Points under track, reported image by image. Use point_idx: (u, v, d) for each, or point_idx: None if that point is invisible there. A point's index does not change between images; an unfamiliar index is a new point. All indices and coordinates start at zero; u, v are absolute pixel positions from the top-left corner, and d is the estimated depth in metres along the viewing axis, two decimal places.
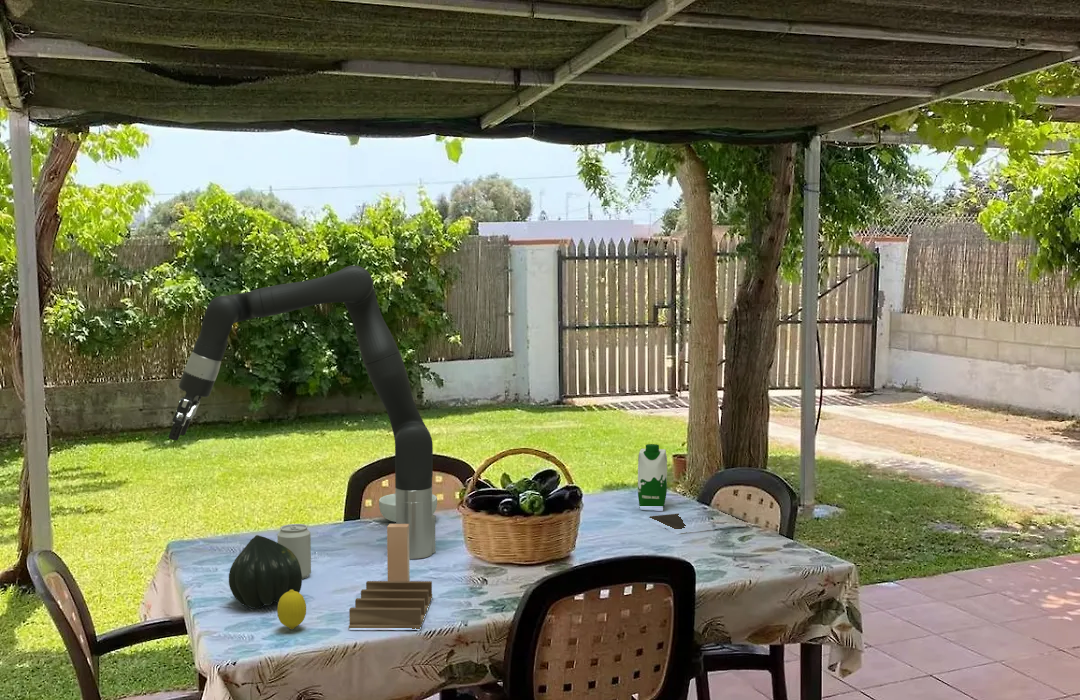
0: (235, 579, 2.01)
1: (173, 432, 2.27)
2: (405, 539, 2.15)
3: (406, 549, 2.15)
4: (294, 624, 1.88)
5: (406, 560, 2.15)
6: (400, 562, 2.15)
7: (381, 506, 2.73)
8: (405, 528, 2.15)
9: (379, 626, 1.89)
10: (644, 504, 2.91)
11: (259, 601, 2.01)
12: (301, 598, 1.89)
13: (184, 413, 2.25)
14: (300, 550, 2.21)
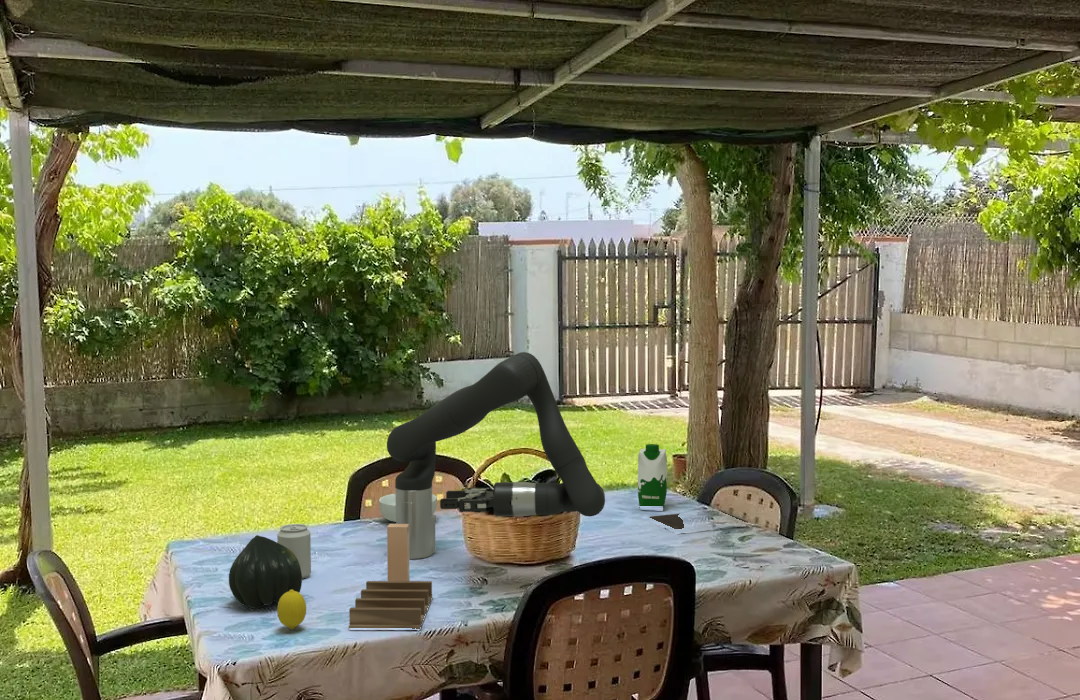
0: (235, 579, 2.01)
1: None
2: (405, 539, 2.15)
3: (406, 549, 2.15)
4: (294, 624, 1.88)
5: (406, 560, 2.15)
6: (400, 562, 2.15)
7: (381, 506, 2.73)
8: (405, 528, 2.15)
9: (379, 626, 1.89)
10: (644, 504, 2.91)
11: (259, 601, 2.01)
12: (301, 598, 1.89)
13: None
14: (300, 550, 2.21)
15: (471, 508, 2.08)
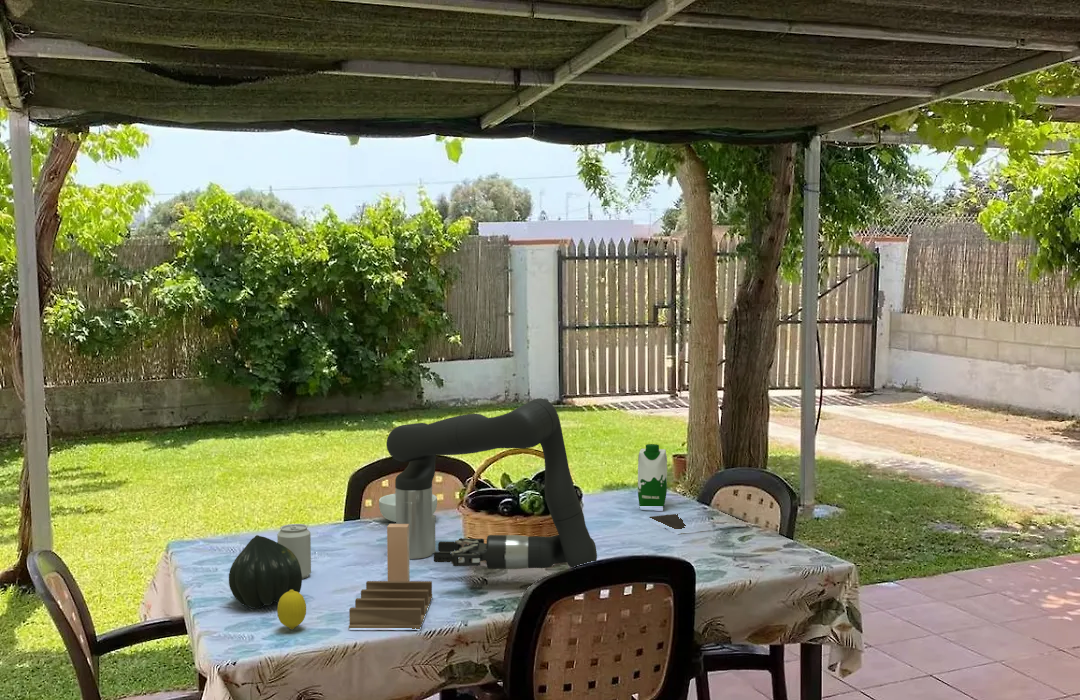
0: (235, 579, 2.01)
1: None
2: (405, 539, 2.15)
3: (406, 549, 2.15)
4: (294, 624, 1.88)
5: (406, 560, 2.15)
6: (400, 562, 2.15)
7: (381, 506, 2.73)
8: (405, 528, 2.15)
9: (379, 626, 1.89)
10: (644, 504, 2.91)
11: (259, 601, 2.01)
12: (301, 598, 1.89)
13: None
14: (300, 550, 2.21)
15: (465, 563, 2.10)
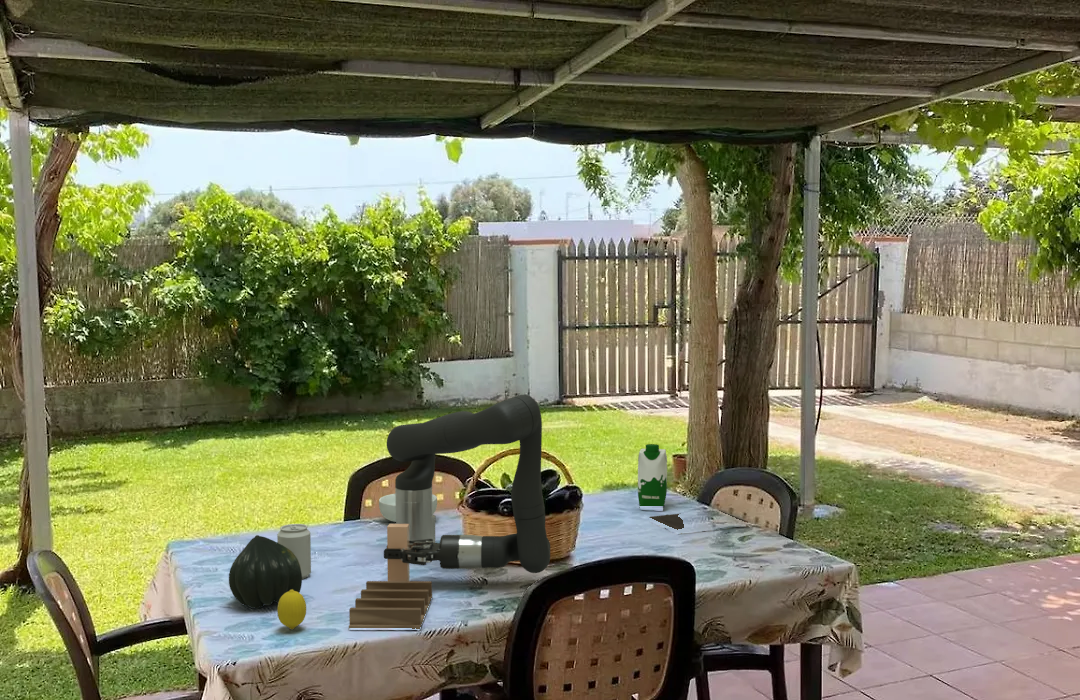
0: (235, 579, 2.01)
1: None
2: (405, 539, 2.15)
3: None
4: (294, 624, 1.88)
5: None
6: (400, 562, 2.15)
7: (381, 506, 2.73)
8: (405, 528, 2.15)
9: (379, 626, 1.89)
10: (644, 504, 2.91)
11: (259, 601, 2.01)
12: (301, 598, 1.89)
13: None
14: (300, 550, 2.21)
15: (411, 560, 2.11)
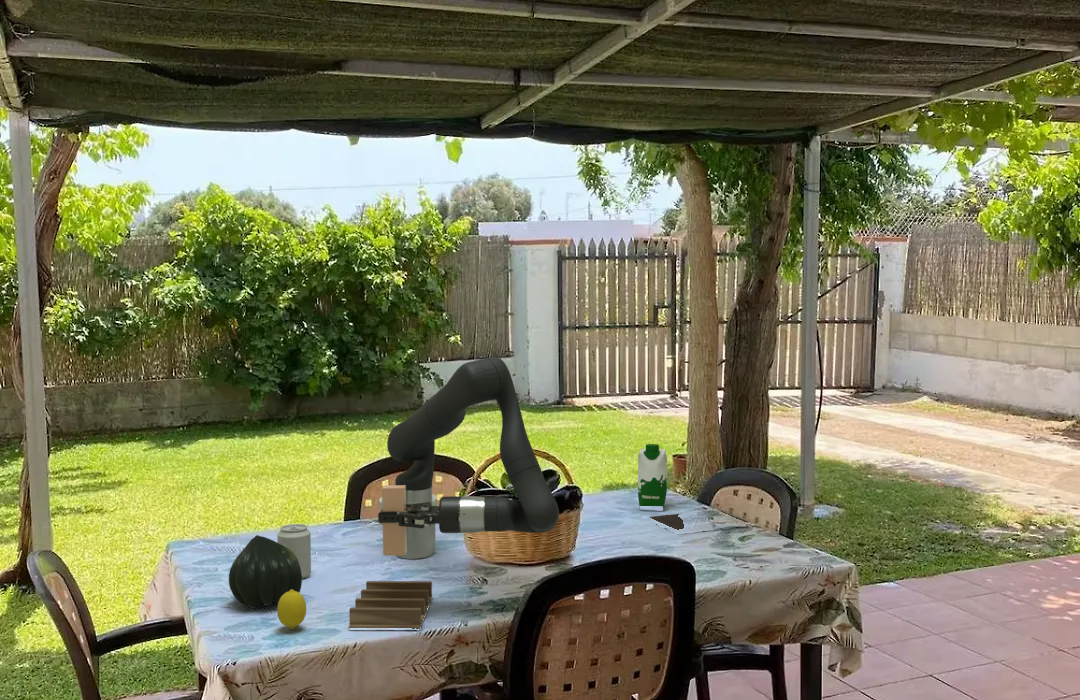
0: (235, 579, 2.01)
1: None
2: (401, 501, 1.98)
3: None
4: (294, 624, 1.88)
5: None
6: (396, 526, 1.99)
7: (381, 506, 2.73)
8: (401, 489, 1.98)
9: (379, 626, 1.89)
10: (644, 504, 2.91)
11: (259, 601, 2.01)
12: (301, 598, 1.89)
13: None
14: (300, 550, 2.21)
15: (408, 523, 1.95)
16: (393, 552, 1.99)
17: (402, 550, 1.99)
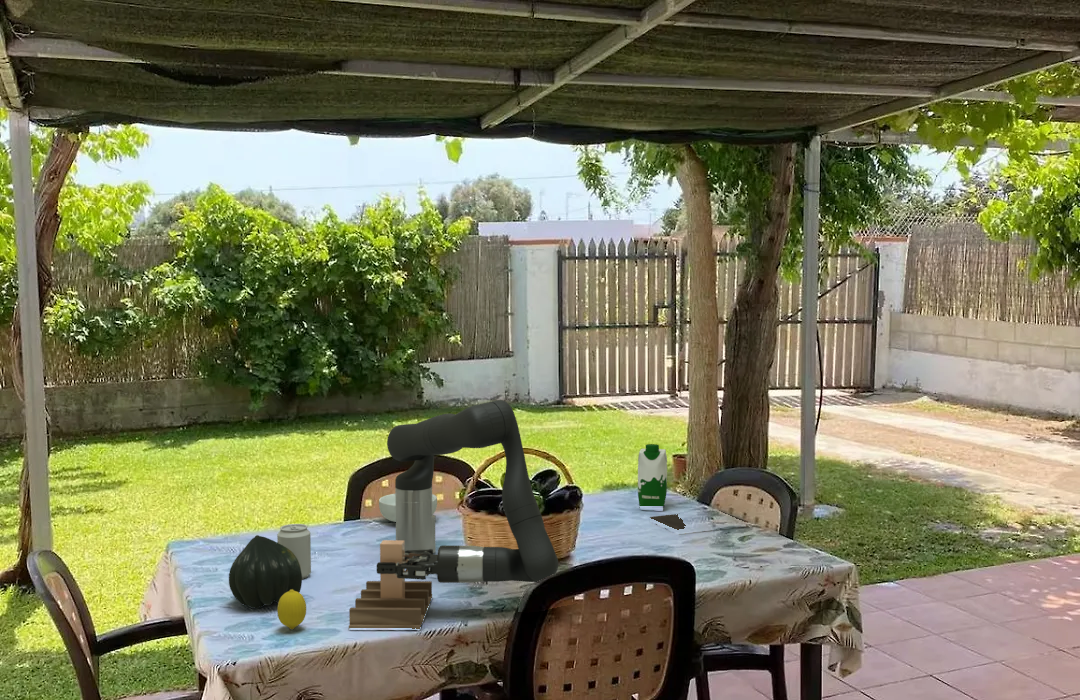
0: (235, 579, 2.01)
1: None
2: (399, 558, 1.97)
3: None
4: (294, 624, 1.88)
5: (401, 580, 1.97)
6: (394, 582, 1.97)
7: (381, 506, 2.73)
8: (400, 545, 1.97)
9: (379, 626, 1.89)
10: (644, 504, 2.91)
11: (259, 601, 2.01)
12: (301, 598, 1.89)
13: None
14: (300, 550, 2.21)
15: (408, 575, 1.92)
16: None
17: None
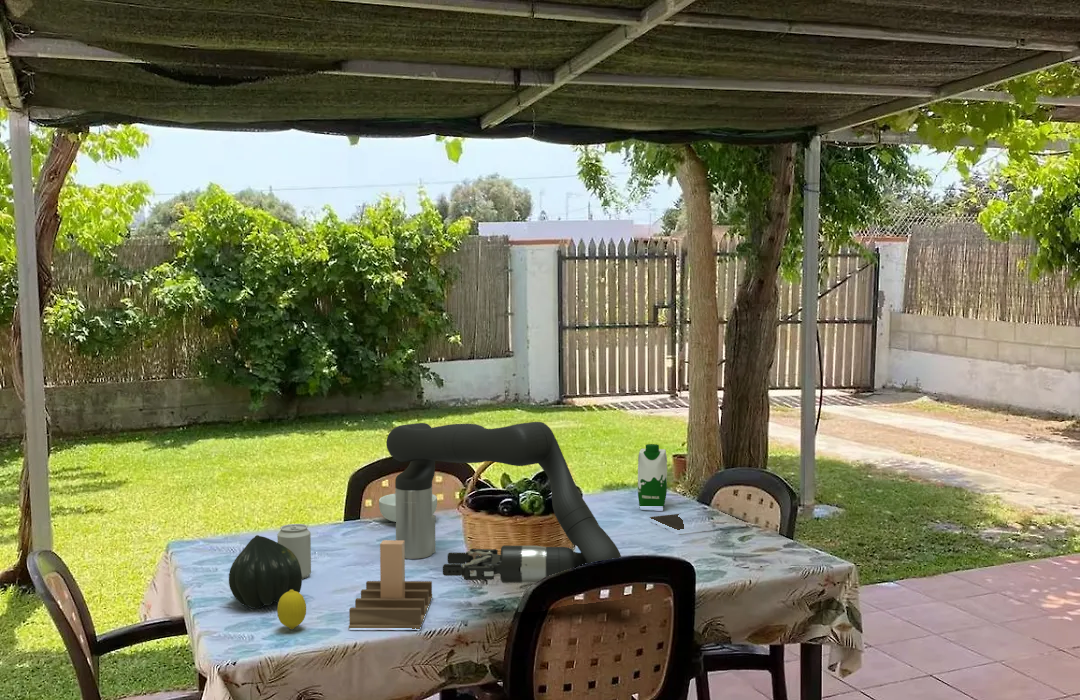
0: (235, 579, 2.01)
1: None
2: (399, 557, 1.97)
3: (401, 568, 1.97)
4: (294, 624, 1.88)
5: (401, 580, 1.97)
6: (394, 582, 1.97)
7: (381, 506, 2.73)
8: (400, 545, 1.97)
9: (379, 626, 1.89)
10: (644, 504, 2.91)
11: (259, 601, 2.01)
12: (301, 598, 1.89)
13: None
14: (300, 550, 2.21)
15: (477, 576, 1.91)
16: None
17: None
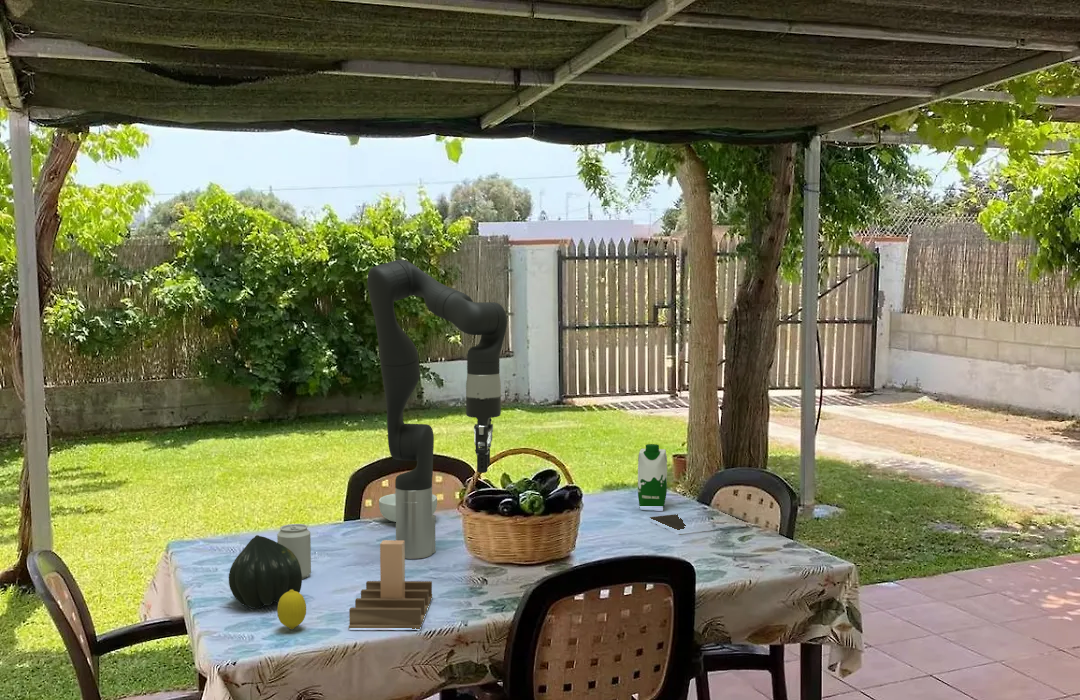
0: (235, 579, 2.01)
1: None
2: (399, 557, 1.97)
3: (401, 568, 1.97)
4: (294, 624, 1.88)
5: (401, 580, 1.97)
6: (394, 582, 1.97)
7: (381, 506, 2.73)
8: (400, 545, 1.97)
9: (379, 626, 1.89)
10: (644, 504, 2.91)
11: (259, 601, 2.01)
12: (301, 598, 1.89)
13: None
14: (300, 550, 2.21)
15: (484, 441, 2.02)
16: None
17: None
